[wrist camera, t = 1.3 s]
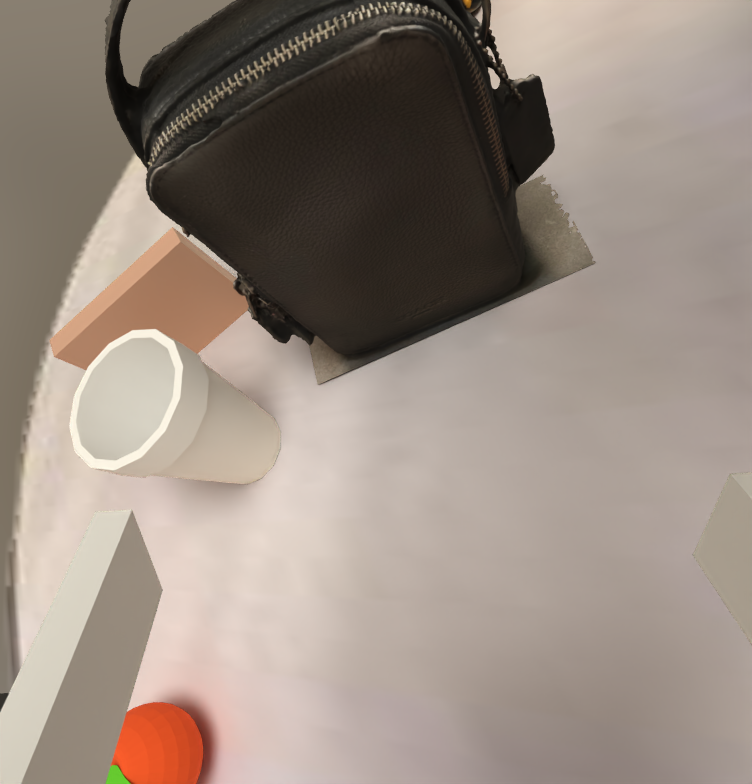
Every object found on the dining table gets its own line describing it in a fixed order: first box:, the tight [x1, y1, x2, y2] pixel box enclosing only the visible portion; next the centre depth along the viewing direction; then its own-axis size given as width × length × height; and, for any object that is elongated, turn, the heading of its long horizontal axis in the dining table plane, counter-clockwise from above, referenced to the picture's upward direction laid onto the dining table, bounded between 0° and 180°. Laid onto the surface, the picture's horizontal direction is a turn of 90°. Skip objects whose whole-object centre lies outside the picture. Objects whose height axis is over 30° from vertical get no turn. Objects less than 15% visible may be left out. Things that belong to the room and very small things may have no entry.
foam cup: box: [69, 329, 281, 484], centre depth 41 cm, size 10×9×13 cm
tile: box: [50, 227, 249, 370], centre depth 49 cm, size 2×14×10 cm, turn 122°
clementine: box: [105, 702, 203, 784], centre depth 36 cm, size 8×7×7 cm
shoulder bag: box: [105, 0, 595, 385], centre depth 32 cm, size 23×9×28 cm, turn 104°
